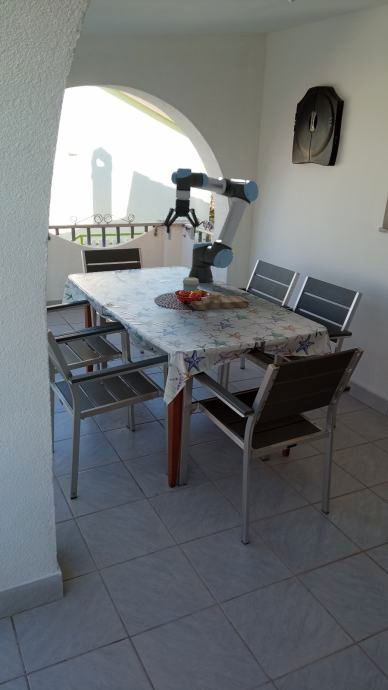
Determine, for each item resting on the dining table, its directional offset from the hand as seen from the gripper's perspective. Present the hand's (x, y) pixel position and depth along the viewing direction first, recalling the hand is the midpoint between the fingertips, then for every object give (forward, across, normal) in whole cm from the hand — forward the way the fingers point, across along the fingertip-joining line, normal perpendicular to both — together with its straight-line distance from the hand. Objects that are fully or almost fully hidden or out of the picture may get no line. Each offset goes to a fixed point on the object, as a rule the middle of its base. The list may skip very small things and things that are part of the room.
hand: (180, 239), depth 278 cm
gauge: (+26, -3, +35) cm, 43 cm away
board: (+29, -8, +33) cm, 44 cm away
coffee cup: (+29, +3, +22) cm, 36 cm away
